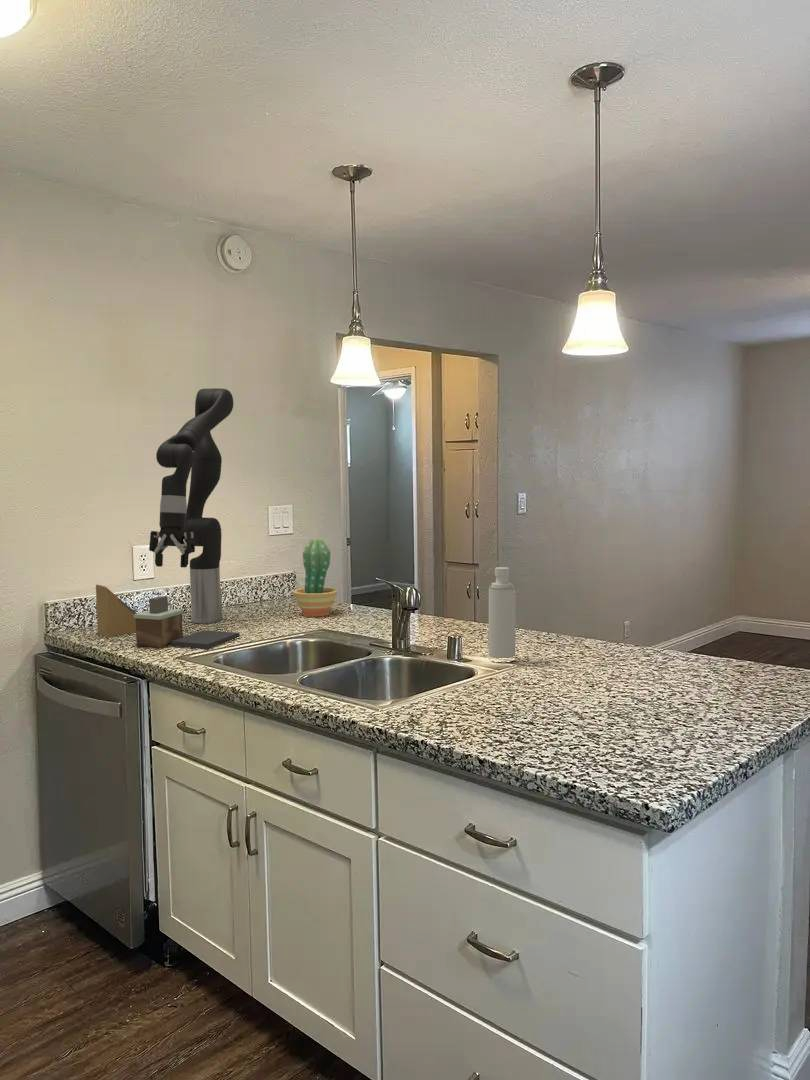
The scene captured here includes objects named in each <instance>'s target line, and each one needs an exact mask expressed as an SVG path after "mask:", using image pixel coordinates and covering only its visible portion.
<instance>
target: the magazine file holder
mask: <svg viewBox="0 0 810 1080" xmlns="http://www.w3.org/2000/svg"><path fill="white" fill-rule="evenodd" d="M95 597H96V600H95V602H96V620H97V621H96V622H97V634H98V633H99V634H98V635H101V634H102V635H101V636H103V635H104V636H103V637H105V636H107V637H106V638H112V637H111V636H116V637H119V636H118V635H123V634H131V633H136V618H134V614H137V613H138V612H136V611H135V610H133V609H132V608H131V607H130V606H129V605H128V604H127V603H126V602H124V601H123V600H122V599H121V598H119V597H118V596H117V595H116V594H115V593H114V592H112V590H110V588H108V587H107V586H104V585H102V584H96V585H95ZM131 635H132V634H131ZM123 636H124V635H123Z"/></svg>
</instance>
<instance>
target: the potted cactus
mask: <svg viewBox="0 0 810 1080" xmlns="http://www.w3.org/2000/svg"><path fill="white" fill-rule="evenodd" d="M302 558H303V559H302V561H303V562H302V563H303V568H304V571H305V577H304V588H303V587H302V588H297V589H293V590H292V595H293V597H294V598H295V600H296V603H297V606H298V607H299V609H300V610H301V612H302V616H303V615H304V617H308V616H321V617H324V616H323V615H327V616H329V615H330V612H329V611H330V609H331V608H332V606H333V605H334V602H335V599H336V597H337V596H338V593H339V589H337V588H333V587H325V583H326V576H327V572H328V570H329V568H330V565H331V550H330V548H329V547H328V545H327V543H326V542H325V541H324V539H321V540H320V539H310V540H309V541H308V542H307V544H306V546H305V547H304V549H303V551H302ZM328 614H329V615H328Z"/></svg>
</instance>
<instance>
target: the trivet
mask: <svg viewBox="0 0 810 1080" xmlns="http://www.w3.org/2000/svg"><path fill="white" fill-rule="evenodd" d="M237 637H240V632H235V631H234V632H233V631H220V630H209V629H207V630H206V629H204V630H200V631H198V632H194V633H191V634H188V635H186V636H183V637H182V638H179V639H175V640H172V641H170V642H171V645H170V647H171V646H179V647H178V648H183V647H190V648H189V649H195V648H200V649H199V650H210V648H211V649H213V648H216V647H218V646H217V645H219V646H221V645H220V644H222V643H224V644H226V643H225V642H227V641H230V640H232V639H235V638H237ZM235 640H236V639H235ZM232 641H233V640H232ZM230 642H231V641H230ZM227 643H228V642H227ZM222 645H223V644H222ZM215 646H216V647H215ZM212 647H213V648H212Z"/></svg>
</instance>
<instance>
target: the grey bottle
mask: <svg viewBox="0 0 810 1080" xmlns="http://www.w3.org/2000/svg"><path fill="white" fill-rule="evenodd" d="M494 576H495V582H491V584H490V585H488V657H489V656H490V657H493V658H510V657H513V656H515V657H516V615H517V614H516V608H517V607H516V606H517V605H516V603H517V602H516V599H517V598H516V595H517V593H516V585H514V583H513V582H509V576H510V568H509V567H506V566H498V567H495V568H494Z"/></svg>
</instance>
